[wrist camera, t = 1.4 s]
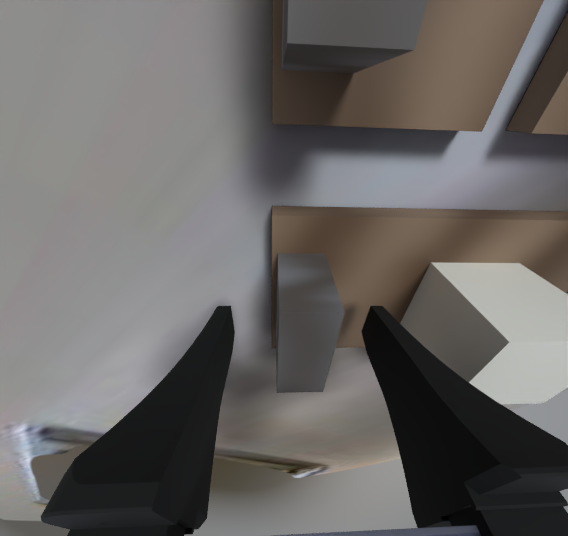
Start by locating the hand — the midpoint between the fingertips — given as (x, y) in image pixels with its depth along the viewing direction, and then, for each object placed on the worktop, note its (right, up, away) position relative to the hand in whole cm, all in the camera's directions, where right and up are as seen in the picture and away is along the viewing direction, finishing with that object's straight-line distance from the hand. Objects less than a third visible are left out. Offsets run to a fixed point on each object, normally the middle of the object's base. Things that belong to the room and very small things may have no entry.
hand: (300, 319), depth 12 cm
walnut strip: (+7, +2, +3) cm, 8 cm away
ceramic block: (+9, +1, +2) cm, 10 cm away
